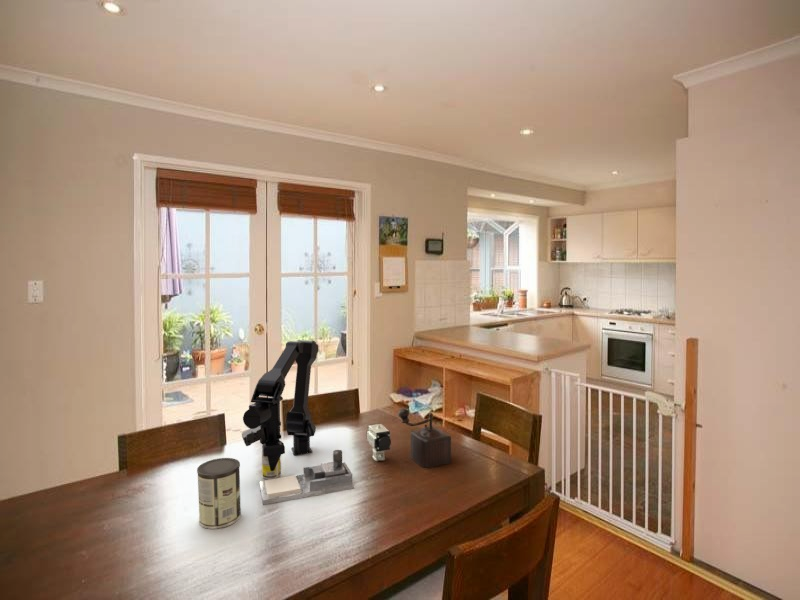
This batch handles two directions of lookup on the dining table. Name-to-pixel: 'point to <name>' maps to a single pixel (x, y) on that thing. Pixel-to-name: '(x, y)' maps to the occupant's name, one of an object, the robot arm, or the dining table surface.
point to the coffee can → (219, 493)
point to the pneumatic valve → (378, 440)
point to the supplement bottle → (266, 469)
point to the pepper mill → (428, 443)
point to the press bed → (282, 486)
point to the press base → (312, 486)
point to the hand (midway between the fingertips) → (271, 466)
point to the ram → (330, 467)
